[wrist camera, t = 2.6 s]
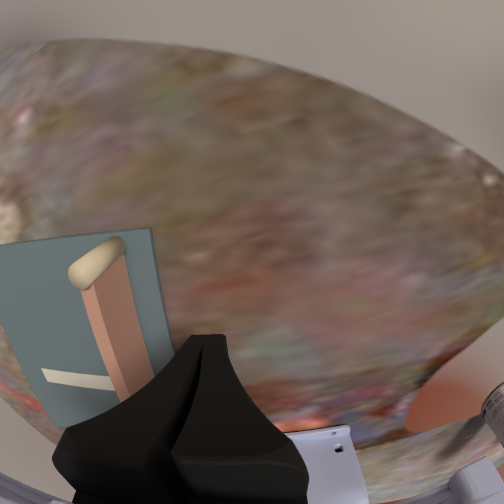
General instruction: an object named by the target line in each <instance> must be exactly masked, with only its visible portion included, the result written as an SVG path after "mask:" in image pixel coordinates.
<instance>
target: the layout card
mask: <svg viewBox="0 0 504 504" xmlns="http://www.w3.org/2000/svg"><path fill="white" fill-rule="evenodd" d="M115 235H116V236H119V237H121V238H122V239H123V240H124V241H125V244H126V251H125V253H124V256H125V261H126V266H127V271H128V276H129V281H130V285H131V290H132V294H133V299H134V303H135V307H136V311H137V315H138V319H139V323H140V327H141V331H142V335H143V338H144V342H145V346H146V349H147V353H148V356H149V359H150V363H151V366H152V369H153V373H154V376H156V375H157V374H158V373H159V372H160V371H161V370H162V369H163V368H164V367H165V366H166V365H167V364H168V362H169V361H170V360H171V359H172V358H173V357H174V356H175V351H174V347H173V342H172V338H171V334H170V329H169V325H168V320H167V315H166V310H165V305H164V300H163V295H162V290H161V285H160V279H159V274H158V268H157V262H156V256H155V249H154V243H153V236H152V229H151V228H140V229H130V230H120V231H110V232H100V233H91V234H82V235H73V236H65V237H56V238H48V239H40V240H32V241H25V242H17V243H10V244H3V245H0V320H1V323H2V325H3V328H4V330H5V333H6V335H7V337H8V340H9V342H10V344H11V347H12V349H13V351H14V353H15V355H16V358H17V360H18V362H19V364H20V366H21V368H22V370H23V372H24V374H25V376H26V378H27V380H28V382H29V384H30V385H31V387H32V389H33V391H34V393H35V394H36V396H37V398H38V400H39V401H40V403H41V405H42V407H43V408H44V410H45V411H46V413H47V415H48V416H49V418H50V420H51V421H52V423H53V424H54V425H56V426H60V427H65V428H67V427H69V426H72V425H75V424H78V423H81V422H83V421H86V420H88V419H91V418H93V417H95V416H98V415H100V414H102V413H104V412H106V411H108V410H109V409H111V408H113V407H115V406H117V405H118V404H120V403H121V402H120V400H119V398H118V396H117V393H116V391H115V389H114V386H113V384H112V381H111V379H110V377H109V374H108V372H107V369H106V366H105V364H104V361H103V359H102V356H101V353H100V350H99V348H98V345H97V342H96V339H95V336H94V333H93V330H92V327H91V324H90V321H89V318H88V315H87V311H86V308H85V304H84V301H83V298H82V294H81V290H80V289H79V288H76V287H75V286H74V285H73V284H72V283H71V282H70V280H69V277H68V269H69V267H70V266H71V265H72V264H73V263H74V262H76V261H77V260H78V259H80V258H81V257H83V256H84V255H85V254H87V253H88V252H90V251H91V250H92V249H94V248H95V247H97V246H98V245H100V244H101V243H102V242H104V241H105V240H107V239H108V238H110V237H111V236H115Z"/></svg>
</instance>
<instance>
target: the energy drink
mask: <svg viewBox="0 0 504 504" xmlns="http://www.w3.org/2000/svg"><path fill="white" fill-rule="evenodd" d="M481 416H482V417H483V418H484V420H485V421H486V422H487V424H488V425H489V427H490V428H491V430H492V431H493V432H494V434H495V435H496V437H497V438H498V440H499V441H500V443H501V444H502V446H503V447H504V382H503V383H501V384H500V385H499V386H497V387H496V388H495V389H494V390H493V391H492V392H491V393H490V394H489V396H488V397H487V398H486V400H485V401H484V403H483V405H482V408H481Z"/></svg>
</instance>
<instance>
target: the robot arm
mask: <svg viewBox="0 0 504 504" xmlns="http://www.w3.org/2000/svg"><path fill="white" fill-rule="evenodd" d="M349 434H350V426H349V425H342V426H336V427H330V428H323V429H316V430H309V431H301V432H292V433H282V432H281V431H280V430H279V429H278V428H277V427H276V426H275V425H274V424H272V423H271V422H270V421H269V420H268V419H267V418H266V416H265V415H264V414H263V413H262V412H261V411H260V410H259V408H258V407H257V406H256V405H255V404H254V402H253V401H252V400H251V398H250V397H249V396H248V394H247V393H246V391H245V390H244V388H243V386H242V385H241V383H240V381H239V379H238V377H237V375H236V374H235V371H234V369H233V367H232V364H231V362H230V359H229V357H228V349H227V342H226V336H225V335H223V334H211V335H191V336H190V337H189V339H188V340H187V341H186V342H185V344H184V345H183V346H182V347H181V348H180V350H179V351H178V352H177V353H176V355H175V356H174V357H173V358H172V359H171V360H170V361H169V362H168V364H167V365H166V366H165V367H164V368H163V369H162V370H161V371H160V372H159V373H158V374H157V375H156V376H155V377H154V378H153V379H152V380H151V381H150V382H149V383H147V384H146V385H145V386H144V387H143V388H141V389H140V390H139V391H137V392H136V393H135V394H133V395H132V396H130V397H129V398H127V399H126V400H124V401H123V402H121V403H120V404H118V405H117V406H115V407H113V408H111V409H109V410H108V411H106V412H104V413H102V414H100V415H98V416H95V417H93V418H91V419H88V420H86V421H83V422H81V423H78V424H75V425H72V426H69V427H67V428H66V430H65V431H64V433H63V435H62V437H61V439H60V441H59V443H58V445H57V447H56V449H55V451H54V454H53V456H52V461H53V464H54V466H55V468H56V469H57V470H58V472H59V473H60V474H61V475H62V476H63V477H64V478H65V479H66V480H67V482H68V483H69V484H70V485H71V486H72V487H73V488H74V489H75V490H76V492H75V495H74V498H73V501H72V503H71V502H68V501H65V500H62V499H60V498H57V497H54V496H52V495H49V494H46V493H44V492H42V491H39V490H37V489H34V488H32V487H30V486H27V485H25V484H23V483H21V482H19V481H17V480H15V479H13V478H10V477H8V476H6V475H5V474H3V473H0V504H369V501H368V493H367V488H366V484H365V481H364V478H363V475H362V471H361V468H360V465H359V462H358V459H357V456H356V453H355V450H354V447H353V444H352V441H351V438H350V435H349ZM394 504H504V482H503V481H502V479H501V477H500V475H499V474H498V472H497V470H496V468H495V467H494V465H493V463H492V462H491V460H490V459H489V457H488V456H484V457H483V458H481V459H479V460H477V461H475V462H473V463H471V464H469V465H467V466H465V467H463V468H462V469H460V470H459V471H457V472H456V473H455V474H454V475H453V476H452V477H451V478H450V480H449V482H448V483H446V484H444V485H442V486H440V487H437V488H435V489H432V490H430V491H428V492H425V493H422V494H420V495H417V496H414V497H412V498H409V499H406V500H403V501H400V502H397V503H394Z"/></svg>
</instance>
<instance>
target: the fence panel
mask: <svg viewBox="0 0 504 504" xmlns="http://www.w3.org/2000/svg"><path fill="white" fill-rule="evenodd" d="M125 251H126V244H125V241H124V240H123V239H122V238H121V237H119V236H116V235H115V236H111V237H110V238H108V239H107V240H105V241H104V242H102V243H101V244H100V245H98V246H97V247H95V248H94V249H92V250H91V251H90V252H88V253H87V254H85V255H84V256H83V257H81V258H80V259H78V260H77V261H76V262H74V263H73V264H72V265H71V266H70V267H69V269H68V277H69V280H70V282H71V283H72V284H73V285H74V286H75V287H76V288H79V289H80V290H81V294H82V298H83V301H84V304H85V308H86V311H87V315H88V318H89V321H90V324H91V327H92V330H93V333H94V336H95V339H96V342H97V345H98V348H99V350H100V353H101V356H102V359H103V361H104V364H105V366H106V369H107V372H108V374H109V377H110V379H111V381H112V384H113V386H114V389H115V391H116V393H117V396H118V398H119V400H120V402H123V401H124V400H126V399H127V398H129V397H130V396H132V395H133V394H135V393H136V392H137V391H139V390H140V389H141V388H143V387H144V386H145V385H146V384H147V383H149V382H150V381H151V380H152V379H153V378H154V377H155V376H154V373H153V369H152V366H151V363H150V359H149V356H148V353H147V349H146V346H145V342H144V338H143V335H142V331H141V327H140V323H139V319H138V315H137V311H136V307H135V303H134V299H133V294H132V290H131V285H130V281H129V276H128V271H127V266H126V261H125V256H124V253H125Z"/></svg>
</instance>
